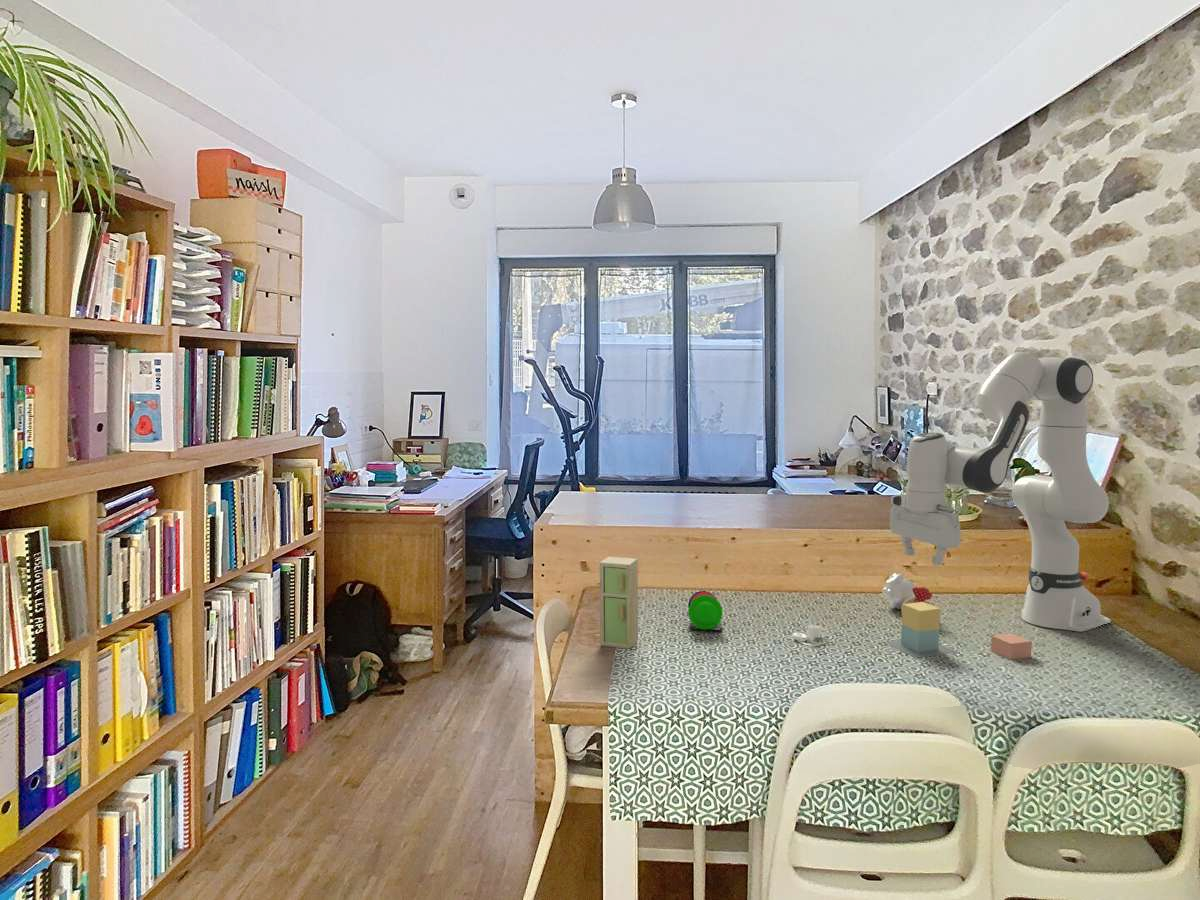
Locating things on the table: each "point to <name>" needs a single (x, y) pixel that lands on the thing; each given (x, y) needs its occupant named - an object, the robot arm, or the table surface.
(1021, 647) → the terracotta brick
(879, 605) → the table surface
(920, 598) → the bird rattle
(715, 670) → the table surface
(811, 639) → the teacup and saucer
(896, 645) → the build plate
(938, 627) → the ochre brick
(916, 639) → the teal brick
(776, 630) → the table surface
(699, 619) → the multicoloured piece
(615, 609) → the toy refrigerator
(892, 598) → the ghost figurine
